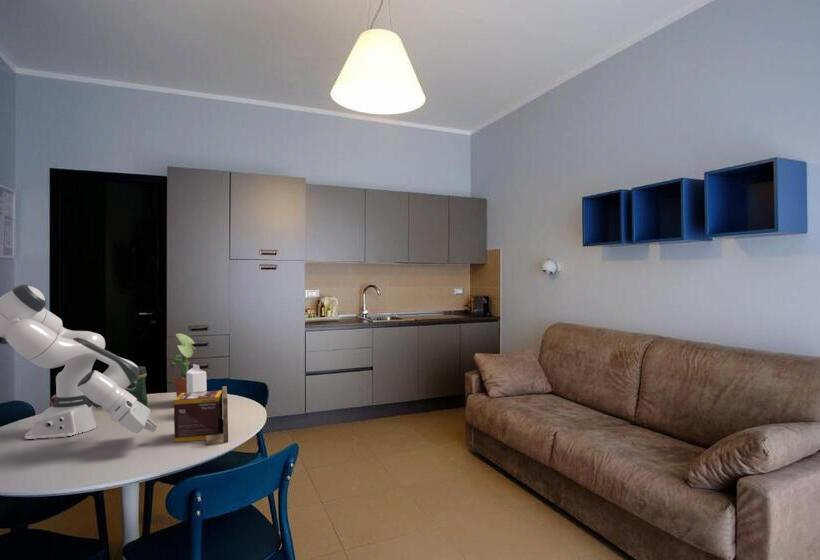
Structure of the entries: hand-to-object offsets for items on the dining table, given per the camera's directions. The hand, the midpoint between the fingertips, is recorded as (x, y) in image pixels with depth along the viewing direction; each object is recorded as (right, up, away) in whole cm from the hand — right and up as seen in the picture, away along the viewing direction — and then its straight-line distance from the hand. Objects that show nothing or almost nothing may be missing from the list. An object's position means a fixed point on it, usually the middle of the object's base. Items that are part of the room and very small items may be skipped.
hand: (155, 429), depth 172 cm
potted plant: (-10, -4, +49) cm, 50 cm away
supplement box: (+13, -5, +7) cm, 16 cm away
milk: (+1, -4, +31) cm, 32 cm away
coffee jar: (-34, -4, +46) cm, 57 cm away
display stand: (+19, -4, +8) cm, 21 cm away
